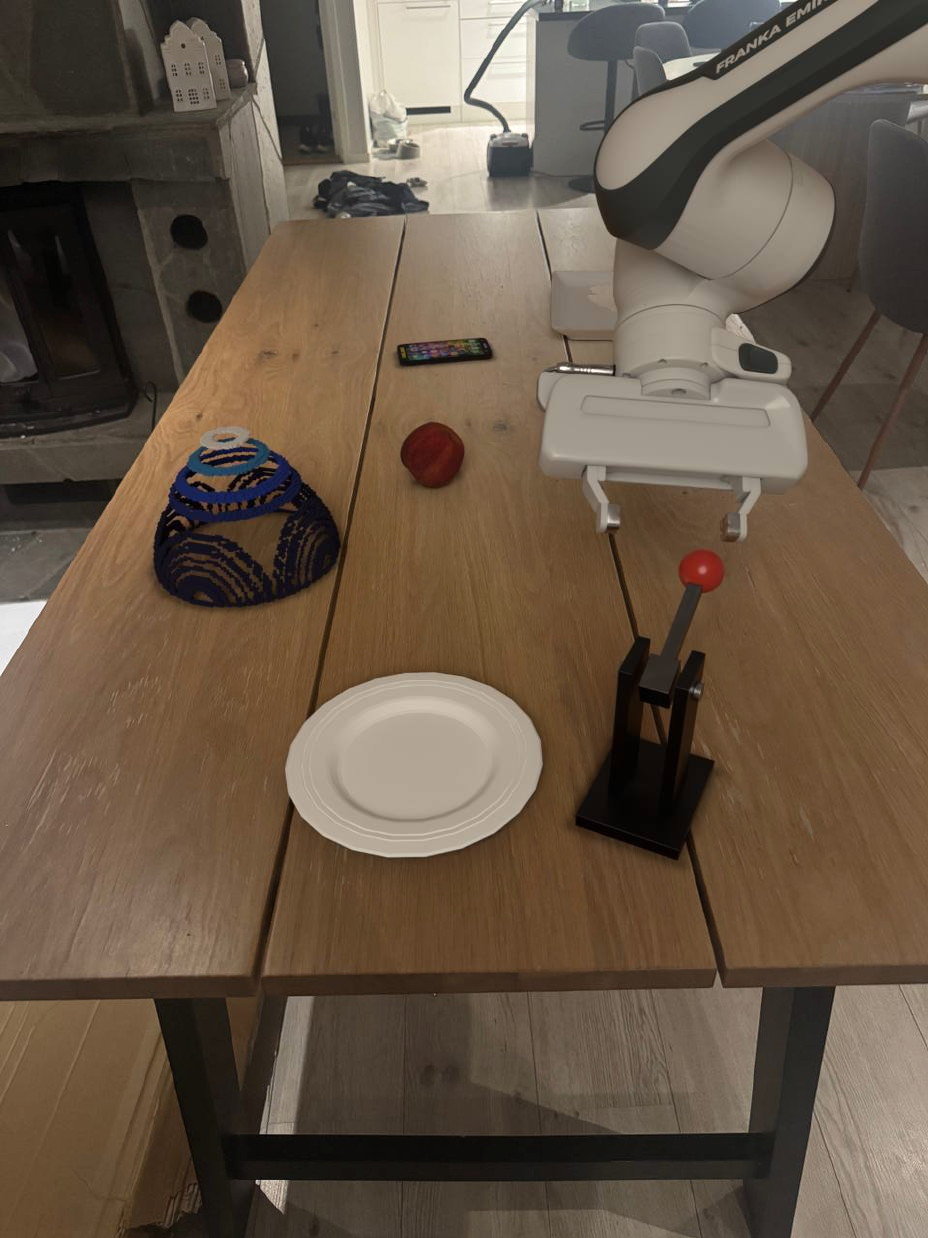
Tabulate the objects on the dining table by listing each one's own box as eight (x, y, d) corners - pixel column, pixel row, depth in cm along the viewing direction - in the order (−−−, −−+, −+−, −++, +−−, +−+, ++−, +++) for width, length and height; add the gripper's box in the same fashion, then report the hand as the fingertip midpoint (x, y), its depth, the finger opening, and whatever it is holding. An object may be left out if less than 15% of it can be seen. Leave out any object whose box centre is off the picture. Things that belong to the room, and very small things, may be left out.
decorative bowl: (288, 621, 93) (265, 495, 85) (120, 590, 99) (82, 469, 90) (367, 523, 108) (354, 407, 100) (217, 501, 114) (193, 390, 105)
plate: (519, 675, 85) (519, 659, 84) (566, 854, 69) (567, 837, 67) (291, 699, 84) (288, 683, 82) (283, 889, 67) (279, 872, 66)
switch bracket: (618, 741, 78) (630, 609, 70) (713, 771, 75) (737, 635, 67) (575, 825, 71) (582, 688, 63) (677, 861, 68) (699, 722, 60)
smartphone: (493, 353, 147) (399, 361, 146) (493, 359, 148) (400, 367, 146) (486, 336, 154) (395, 344, 152) (486, 342, 154) (396, 349, 153)
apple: (457, 500, 112) (454, 439, 107) (395, 495, 113) (390, 435, 109) (470, 471, 118) (468, 412, 113) (411, 467, 119) (406, 409, 114)
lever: (686, 561, 73) (685, 535, 70) (729, 571, 71) (730, 544, 69) (631, 702, 67) (629, 679, 64) (677, 715, 66) (677, 692, 63)
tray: (640, 287, 175) (642, 268, 173) (654, 347, 150) (656, 326, 148) (550, 288, 177) (551, 269, 174) (549, 347, 151) (550, 326, 149)
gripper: (543, 337, 69) (537, 508, 65) (811, 359, 70) (822, 529, 66) (532, 381, 75) (526, 540, 71) (779, 401, 76) (787, 559, 72)
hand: (671, 535), depth 69 cm, fingers open, 8 cm apart
